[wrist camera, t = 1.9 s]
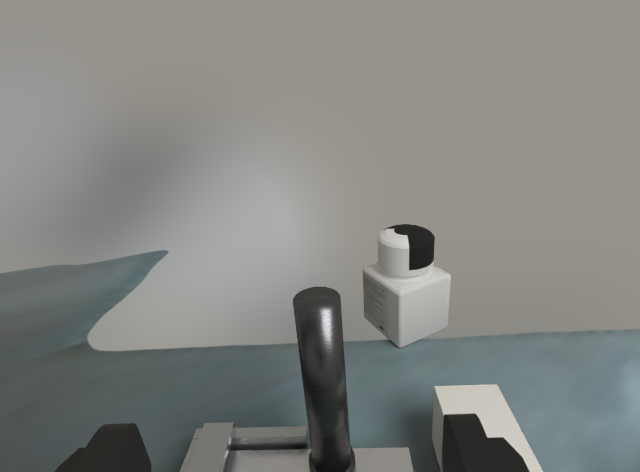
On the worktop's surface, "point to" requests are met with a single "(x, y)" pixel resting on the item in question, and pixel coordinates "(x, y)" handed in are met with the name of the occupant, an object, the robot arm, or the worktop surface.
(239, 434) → the sleeve
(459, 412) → the socket block
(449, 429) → the robot arm
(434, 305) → the container
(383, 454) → the tube
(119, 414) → the worktop surface
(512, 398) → the worktop surface
